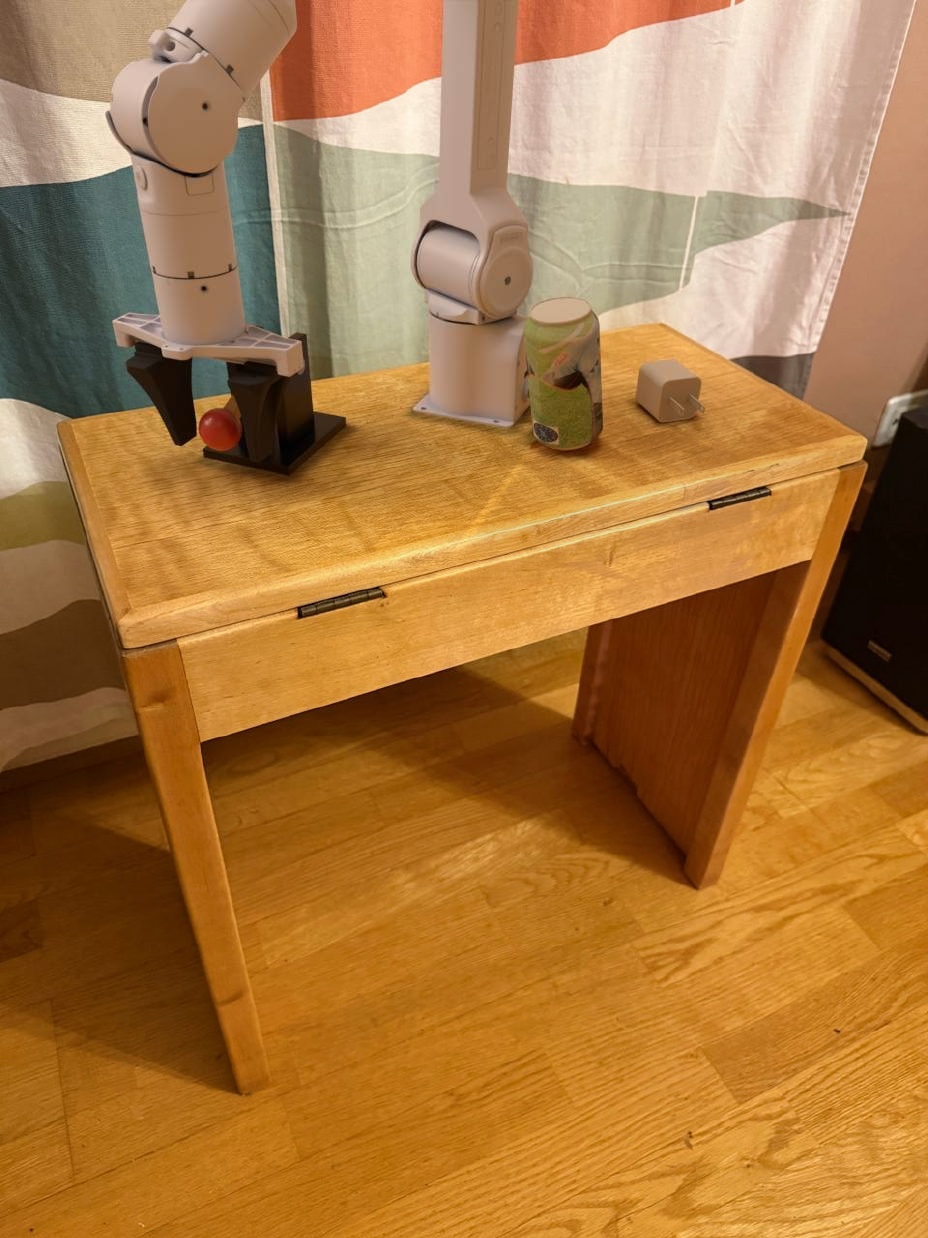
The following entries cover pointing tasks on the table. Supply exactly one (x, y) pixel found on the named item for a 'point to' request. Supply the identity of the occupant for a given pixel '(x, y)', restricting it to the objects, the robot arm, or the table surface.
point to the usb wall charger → (668, 390)
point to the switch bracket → (287, 425)
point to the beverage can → (564, 372)
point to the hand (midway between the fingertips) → (223, 448)
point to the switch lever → (221, 426)
